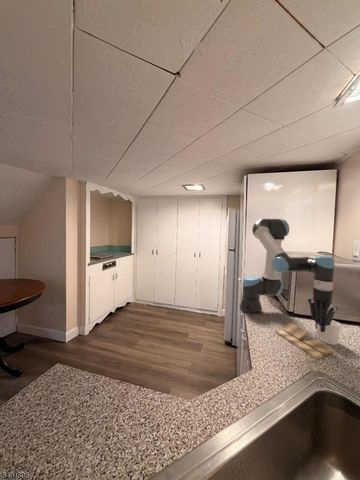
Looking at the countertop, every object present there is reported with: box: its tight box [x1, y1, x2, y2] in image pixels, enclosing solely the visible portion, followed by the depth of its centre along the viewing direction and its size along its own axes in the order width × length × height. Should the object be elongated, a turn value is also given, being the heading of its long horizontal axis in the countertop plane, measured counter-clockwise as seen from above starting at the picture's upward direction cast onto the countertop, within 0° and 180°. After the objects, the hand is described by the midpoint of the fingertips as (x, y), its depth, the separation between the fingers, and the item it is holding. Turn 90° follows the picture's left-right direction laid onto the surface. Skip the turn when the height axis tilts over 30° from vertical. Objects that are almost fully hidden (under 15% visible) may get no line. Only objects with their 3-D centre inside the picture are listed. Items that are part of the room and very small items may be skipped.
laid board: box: [274, 329, 324, 359], centre depth 101 cm, size 24×4×1 cm, turn 16°
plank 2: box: [301, 337, 335, 356], centre depth 97 cm, size 11×6×1 cm, turn 16°
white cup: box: [321, 319, 341, 346], centre depth 103 cm, size 8×8×10 cm
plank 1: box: [282, 322, 309, 342], centre depth 108 cm, size 11×6×1 cm
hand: (319, 337), depth 98 cm, fingers closed
